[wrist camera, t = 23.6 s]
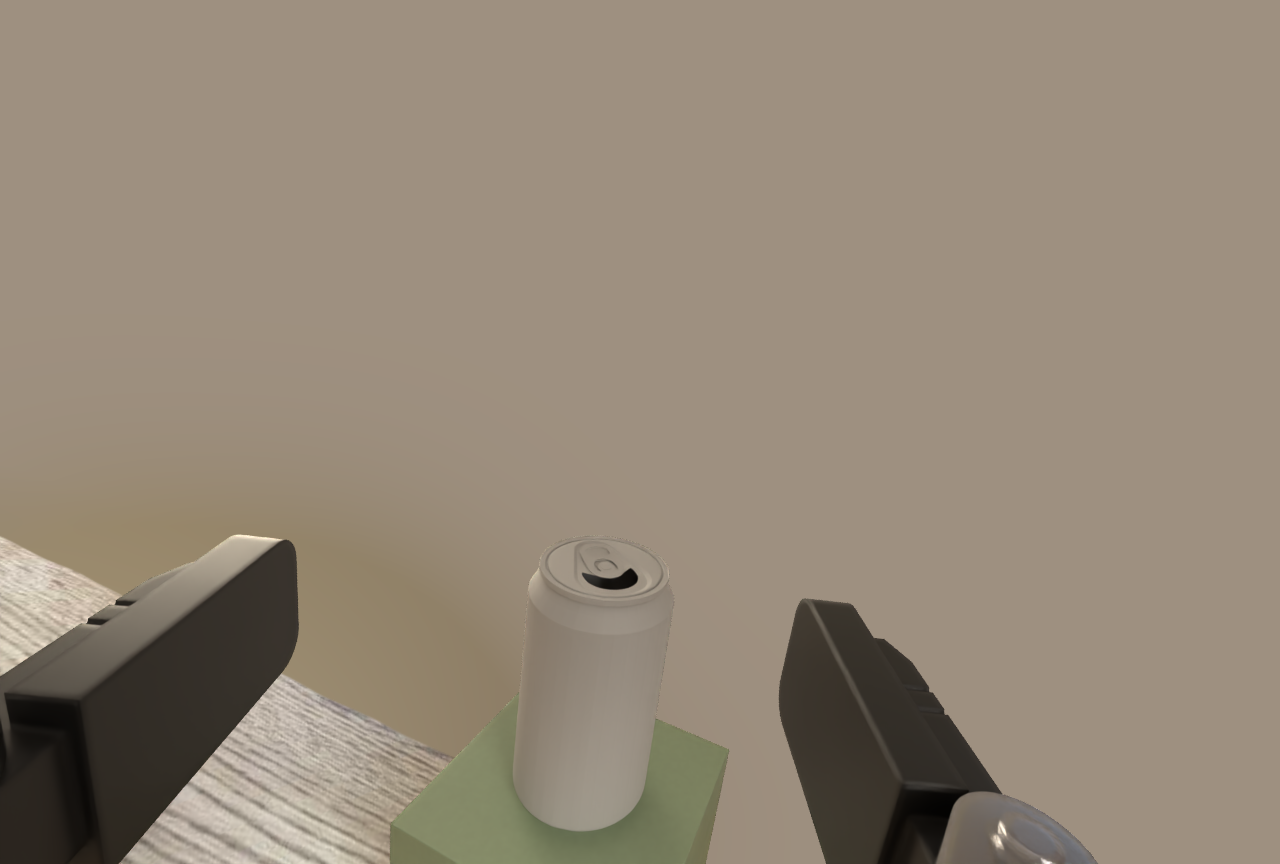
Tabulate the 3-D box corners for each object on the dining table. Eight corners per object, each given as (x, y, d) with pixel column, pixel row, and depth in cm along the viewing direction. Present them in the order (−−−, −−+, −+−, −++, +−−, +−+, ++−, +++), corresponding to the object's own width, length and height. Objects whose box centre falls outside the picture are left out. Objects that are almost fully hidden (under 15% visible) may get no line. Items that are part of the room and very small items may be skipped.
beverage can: (528, 863, 25) (553, 613, 22) (499, 746, 31) (516, 533, 27) (664, 823, 28) (705, 594, 24) (615, 722, 33) (643, 525, 30)
